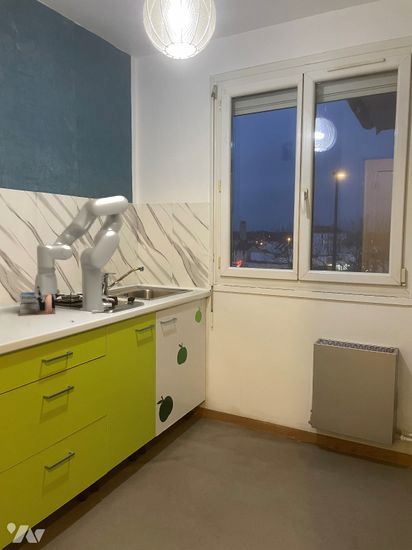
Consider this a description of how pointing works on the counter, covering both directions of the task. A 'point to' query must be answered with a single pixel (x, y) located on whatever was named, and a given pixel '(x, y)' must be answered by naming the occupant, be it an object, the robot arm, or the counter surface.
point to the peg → (48, 304)
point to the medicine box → (27, 297)
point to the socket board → (31, 309)
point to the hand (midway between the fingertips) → (47, 309)
